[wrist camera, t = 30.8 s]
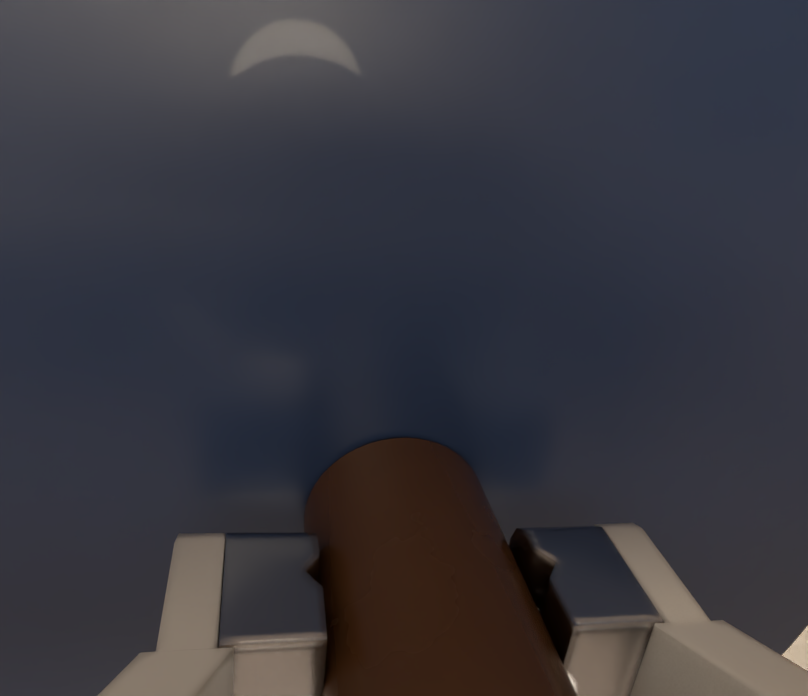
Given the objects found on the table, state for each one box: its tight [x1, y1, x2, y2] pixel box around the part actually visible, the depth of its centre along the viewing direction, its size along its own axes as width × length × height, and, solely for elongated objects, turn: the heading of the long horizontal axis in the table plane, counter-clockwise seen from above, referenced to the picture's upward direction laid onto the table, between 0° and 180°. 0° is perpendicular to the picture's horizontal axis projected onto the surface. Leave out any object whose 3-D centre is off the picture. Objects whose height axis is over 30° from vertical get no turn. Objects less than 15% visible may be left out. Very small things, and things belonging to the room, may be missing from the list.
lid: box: [0, 0, 808, 696], centre depth 8 cm, size 16×16×6 cm
